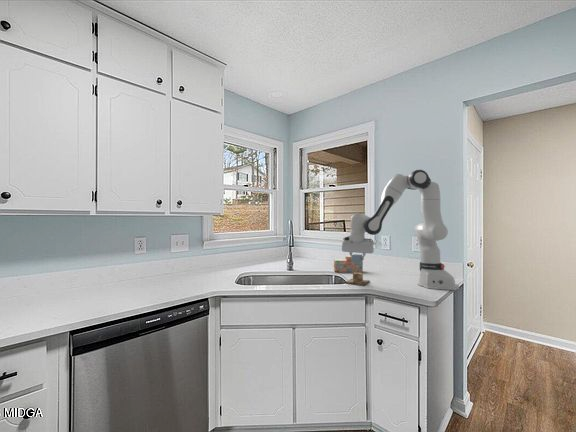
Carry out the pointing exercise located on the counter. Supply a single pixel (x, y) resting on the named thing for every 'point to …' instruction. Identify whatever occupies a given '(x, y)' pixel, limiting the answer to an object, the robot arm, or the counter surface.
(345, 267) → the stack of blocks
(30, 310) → the counter surface
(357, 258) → the slate block
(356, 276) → the oak block
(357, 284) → the baseplate
